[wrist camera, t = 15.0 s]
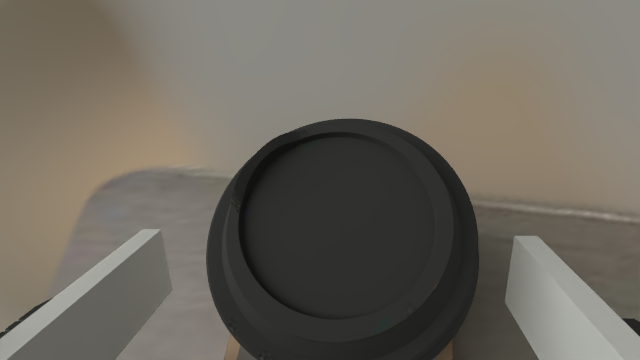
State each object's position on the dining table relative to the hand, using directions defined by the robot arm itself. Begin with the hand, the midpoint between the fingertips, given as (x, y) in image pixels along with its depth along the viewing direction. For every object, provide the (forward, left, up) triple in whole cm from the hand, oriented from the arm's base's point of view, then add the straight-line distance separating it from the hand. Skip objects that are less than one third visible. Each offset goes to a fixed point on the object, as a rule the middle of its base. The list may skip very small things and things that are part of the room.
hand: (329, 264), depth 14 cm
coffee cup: (-1, 0, -11) cm, 11 cm away
